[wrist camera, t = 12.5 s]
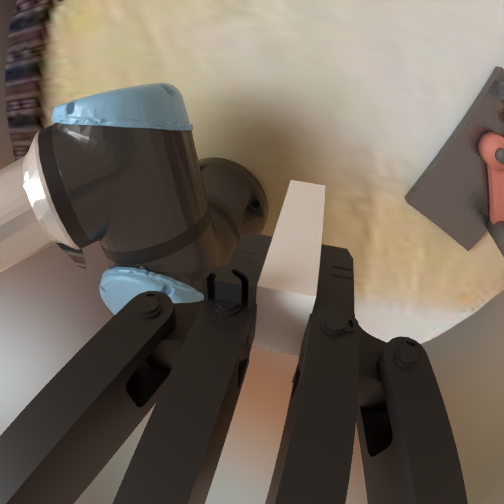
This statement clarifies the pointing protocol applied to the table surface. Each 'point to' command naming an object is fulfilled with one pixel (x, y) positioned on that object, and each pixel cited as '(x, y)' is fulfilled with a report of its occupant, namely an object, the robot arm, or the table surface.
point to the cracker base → (463, 171)
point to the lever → (495, 183)
